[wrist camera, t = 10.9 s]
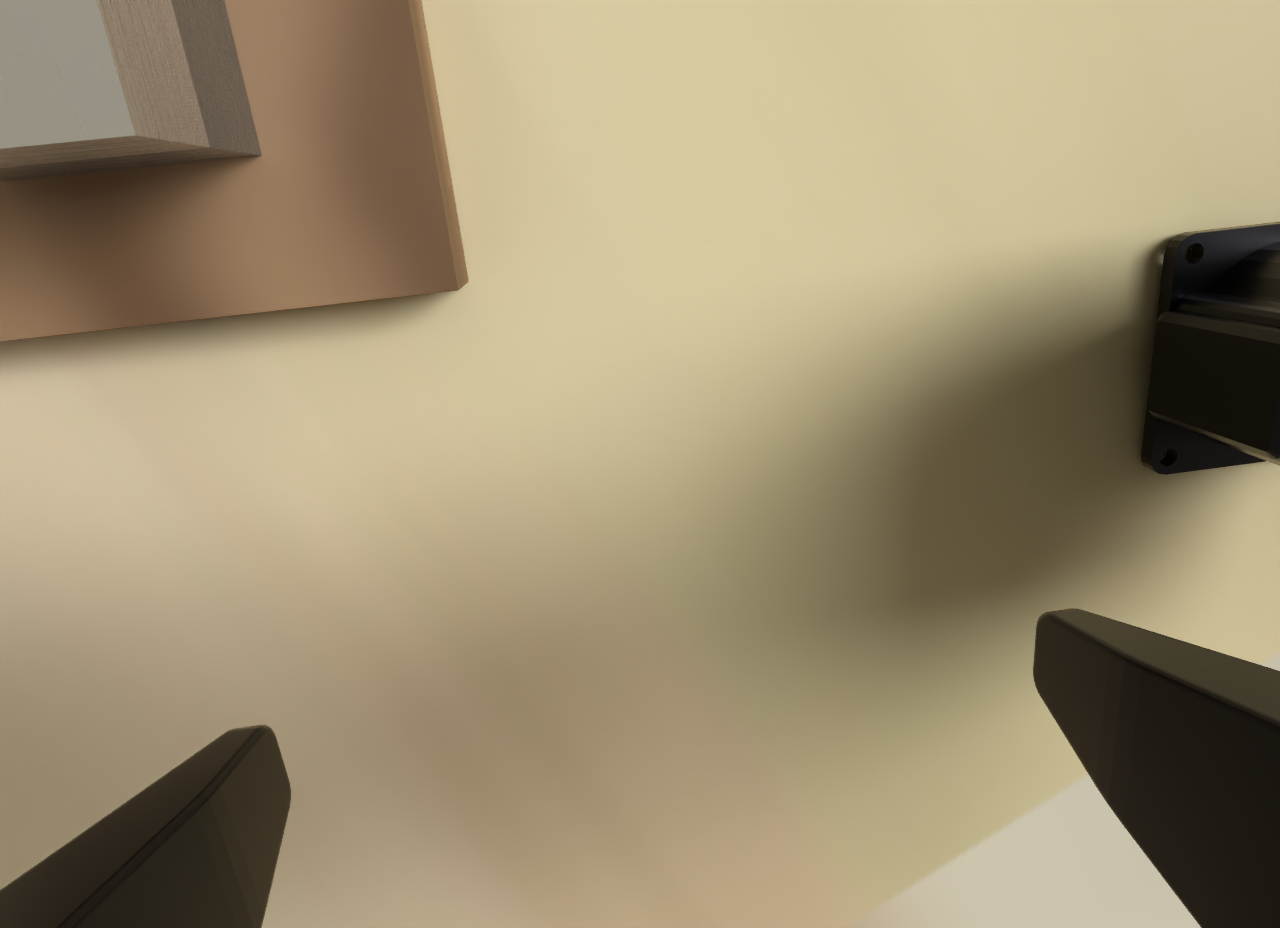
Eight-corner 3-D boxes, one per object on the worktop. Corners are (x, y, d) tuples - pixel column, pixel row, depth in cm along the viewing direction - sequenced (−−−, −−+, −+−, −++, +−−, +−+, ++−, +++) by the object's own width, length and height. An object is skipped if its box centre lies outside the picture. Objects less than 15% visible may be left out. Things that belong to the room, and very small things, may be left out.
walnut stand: (362, -352, 15) (333, -432, 13) (468, 281, 19) (458, 289, 17) (-300, -311, 14) (-430, -389, 12) (-48, 338, 18) (-118, 354, 16)
